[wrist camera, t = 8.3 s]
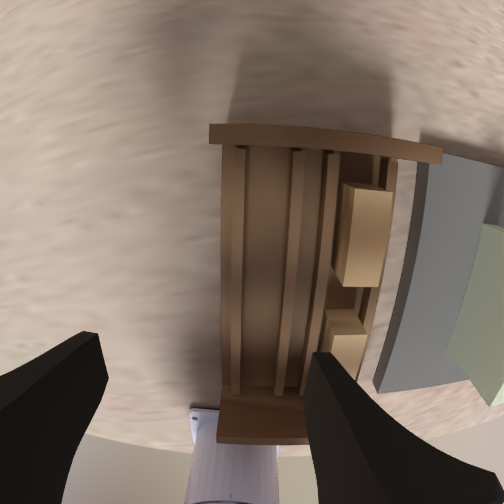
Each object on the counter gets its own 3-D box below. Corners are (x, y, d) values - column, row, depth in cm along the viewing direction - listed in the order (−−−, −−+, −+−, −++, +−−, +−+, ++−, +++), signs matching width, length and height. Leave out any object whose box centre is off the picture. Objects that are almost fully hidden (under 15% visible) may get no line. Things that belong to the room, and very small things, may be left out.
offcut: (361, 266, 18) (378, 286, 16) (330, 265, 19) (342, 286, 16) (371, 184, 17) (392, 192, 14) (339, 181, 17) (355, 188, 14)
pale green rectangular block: (461, 347, 20) (504, 402, 14) (446, 348, 20) (489, 407, 14) (497, 225, 17) (565, 259, 10) (482, 223, 17) (552, 258, 10)
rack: (350, 383, 23) (368, 439, 17) (223, 383, 23) (216, 443, 17) (391, 144, 17) (443, 148, 11) (224, 131, 17) (209, 123, 11)
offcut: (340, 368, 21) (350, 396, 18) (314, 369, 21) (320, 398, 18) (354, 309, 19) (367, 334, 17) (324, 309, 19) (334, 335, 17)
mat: (478, 366, 23) (485, 375, 21) (372, 381, 23) (377, 393, 21) (530, 177, 17) (542, 180, 16) (418, 149, 17) (430, 150, 16)
